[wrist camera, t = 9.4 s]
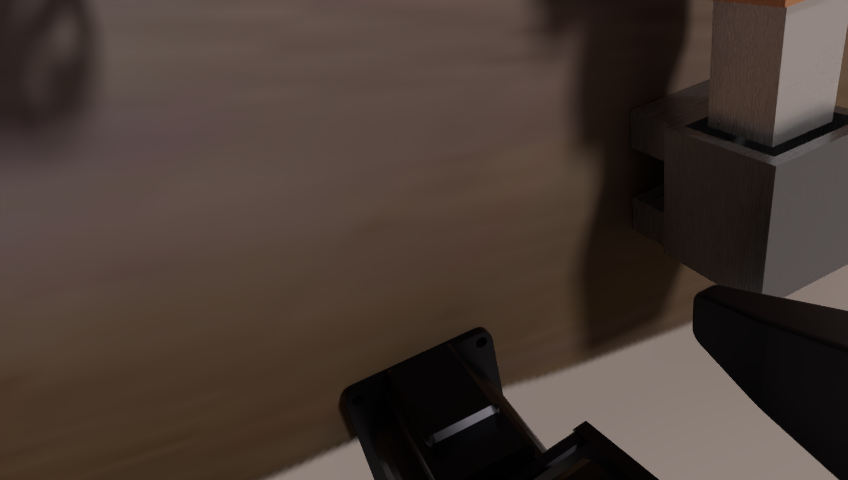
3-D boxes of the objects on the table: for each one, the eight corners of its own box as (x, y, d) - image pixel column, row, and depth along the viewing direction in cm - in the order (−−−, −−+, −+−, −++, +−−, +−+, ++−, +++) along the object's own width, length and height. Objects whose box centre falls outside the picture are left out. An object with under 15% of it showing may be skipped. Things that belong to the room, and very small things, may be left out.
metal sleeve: (709, 194, 27) (856, 259, 22) (627, 231, 26) (760, 309, 21) (715, 77, 25) (885, 117, 19) (623, 112, 23) (776, 166, 18)
